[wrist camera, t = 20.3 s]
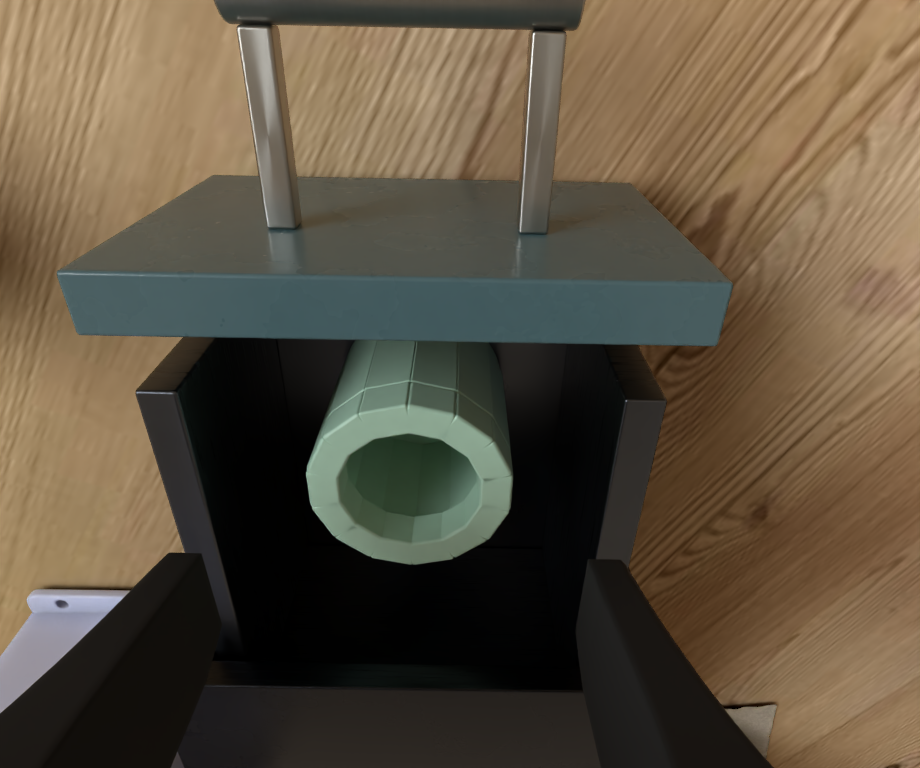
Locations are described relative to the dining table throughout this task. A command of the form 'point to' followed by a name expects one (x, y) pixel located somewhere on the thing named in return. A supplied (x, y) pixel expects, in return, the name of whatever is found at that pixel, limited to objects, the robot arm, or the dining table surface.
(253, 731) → the cabinet
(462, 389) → the jar
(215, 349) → the drawer
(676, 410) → the dining table surface
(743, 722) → the condiment
